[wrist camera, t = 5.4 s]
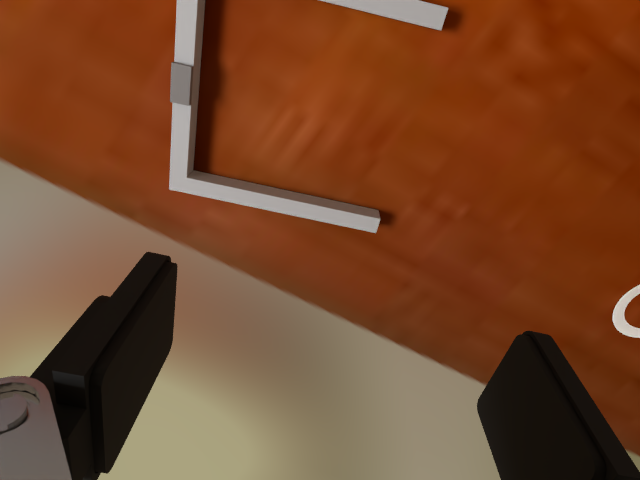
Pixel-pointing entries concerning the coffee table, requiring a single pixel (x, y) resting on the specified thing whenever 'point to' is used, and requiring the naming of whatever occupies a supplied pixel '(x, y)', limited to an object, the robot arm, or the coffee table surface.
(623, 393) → the coffee table surface
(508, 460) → the robot arm
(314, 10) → the coffee table surface
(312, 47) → the coffee table surface
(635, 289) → the white curved piece
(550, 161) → the coffee table surface
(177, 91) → the grey u-frame
